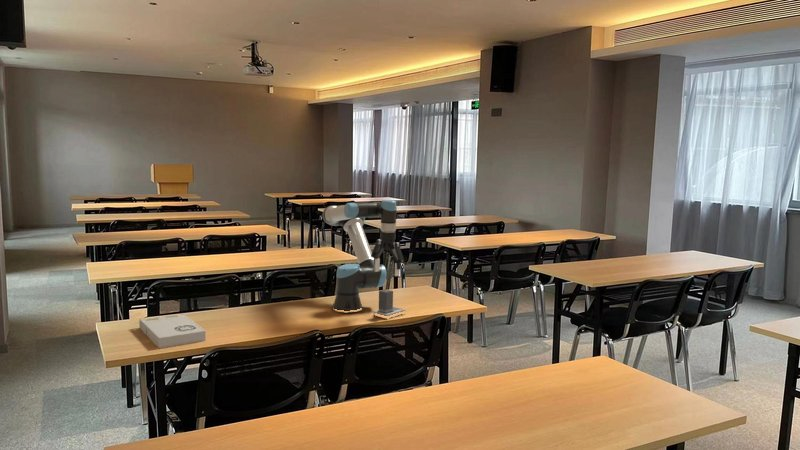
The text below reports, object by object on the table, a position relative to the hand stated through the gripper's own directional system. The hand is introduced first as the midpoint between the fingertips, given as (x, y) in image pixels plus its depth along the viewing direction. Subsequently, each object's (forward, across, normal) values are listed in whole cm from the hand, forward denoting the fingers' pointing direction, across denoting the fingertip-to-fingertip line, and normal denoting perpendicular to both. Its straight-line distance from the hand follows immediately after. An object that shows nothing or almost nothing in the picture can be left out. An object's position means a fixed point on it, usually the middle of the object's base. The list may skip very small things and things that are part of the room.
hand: (386, 273), depth 289 cm
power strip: (+21, +1, +2) cm, 22 cm away
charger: (+20, +1, -1) cm, 21 cm away
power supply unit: (+22, -43, -90) cm, 103 cm away
